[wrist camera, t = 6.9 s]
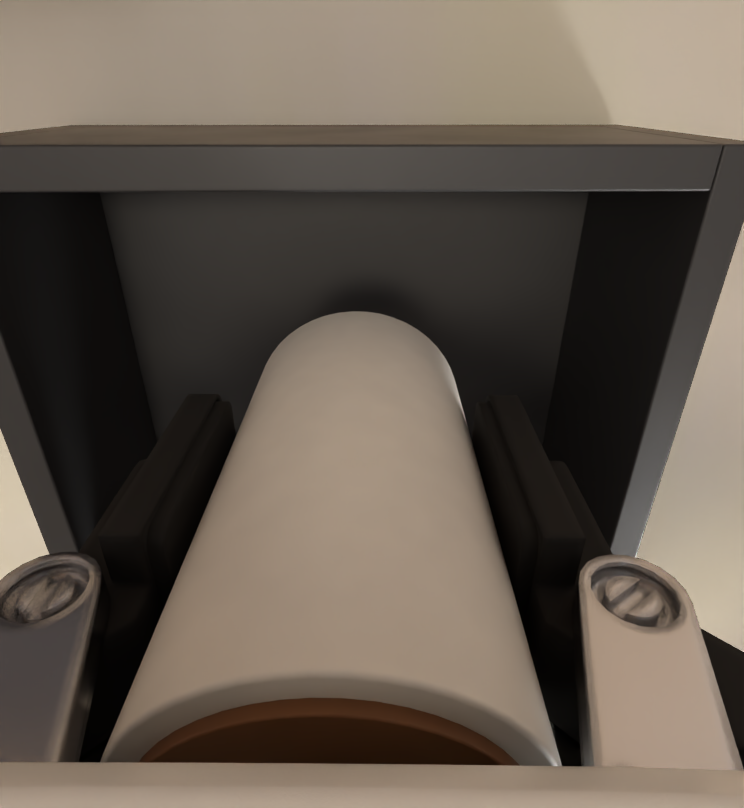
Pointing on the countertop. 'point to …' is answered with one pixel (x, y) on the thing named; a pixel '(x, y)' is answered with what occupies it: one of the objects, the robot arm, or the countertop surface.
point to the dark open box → (356, 283)
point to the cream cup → (343, 579)
